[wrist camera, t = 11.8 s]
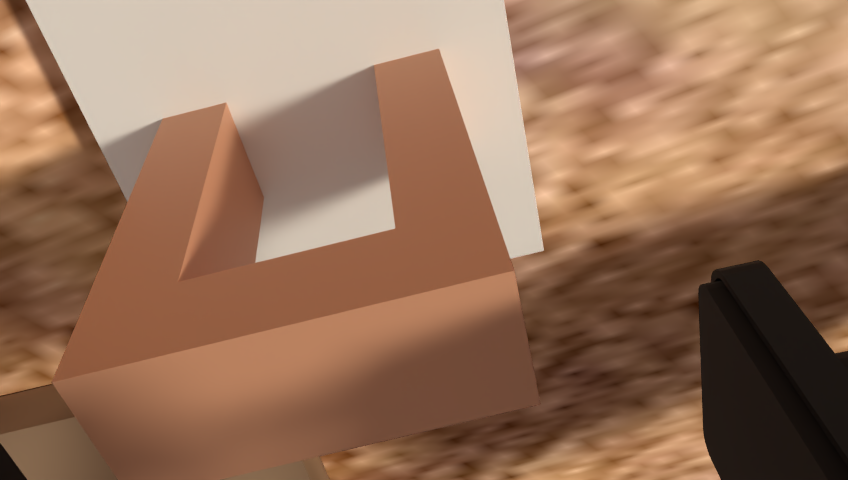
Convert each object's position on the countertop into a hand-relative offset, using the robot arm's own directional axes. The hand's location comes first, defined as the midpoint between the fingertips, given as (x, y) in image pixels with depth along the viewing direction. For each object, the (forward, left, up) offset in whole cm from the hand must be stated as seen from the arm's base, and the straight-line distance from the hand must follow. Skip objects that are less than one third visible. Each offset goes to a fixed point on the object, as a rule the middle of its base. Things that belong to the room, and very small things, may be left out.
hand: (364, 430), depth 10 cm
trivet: (+1, -1, -9) cm, 9 cm away
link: (+1, -1, -8) cm, 8 cm away
